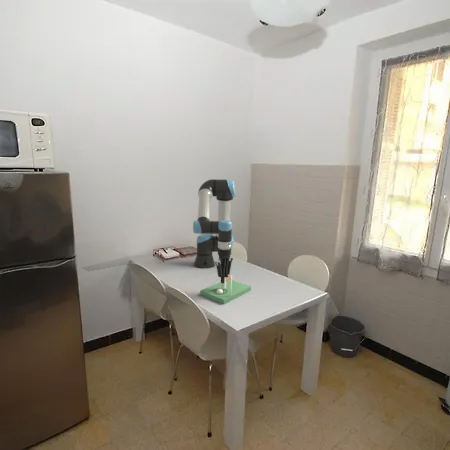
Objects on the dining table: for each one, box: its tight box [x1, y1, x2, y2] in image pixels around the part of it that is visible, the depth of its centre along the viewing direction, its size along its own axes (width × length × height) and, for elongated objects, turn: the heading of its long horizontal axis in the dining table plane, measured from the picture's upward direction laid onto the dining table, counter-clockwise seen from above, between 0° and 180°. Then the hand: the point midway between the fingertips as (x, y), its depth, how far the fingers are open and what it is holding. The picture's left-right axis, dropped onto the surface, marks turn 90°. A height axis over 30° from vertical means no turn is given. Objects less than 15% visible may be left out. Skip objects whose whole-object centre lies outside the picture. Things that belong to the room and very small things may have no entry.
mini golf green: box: [199, 275, 252, 305], centre depth 172 cm, size 25×18×14 cm
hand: (223, 287), depth 170 cm, fingers closed
